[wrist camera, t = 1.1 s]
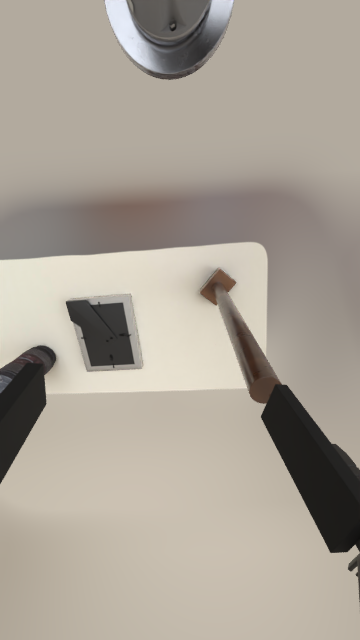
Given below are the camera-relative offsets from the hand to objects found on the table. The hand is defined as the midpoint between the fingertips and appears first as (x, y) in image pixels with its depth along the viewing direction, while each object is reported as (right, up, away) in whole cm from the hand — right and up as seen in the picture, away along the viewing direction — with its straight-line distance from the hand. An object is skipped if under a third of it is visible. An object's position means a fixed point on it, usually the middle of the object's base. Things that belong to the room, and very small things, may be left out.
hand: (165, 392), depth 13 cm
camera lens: (-38, -6, +52) cm, 65 cm away
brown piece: (+10, +13, +42) cm, 45 cm away
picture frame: (-18, +1, +49) cm, 52 cm away
